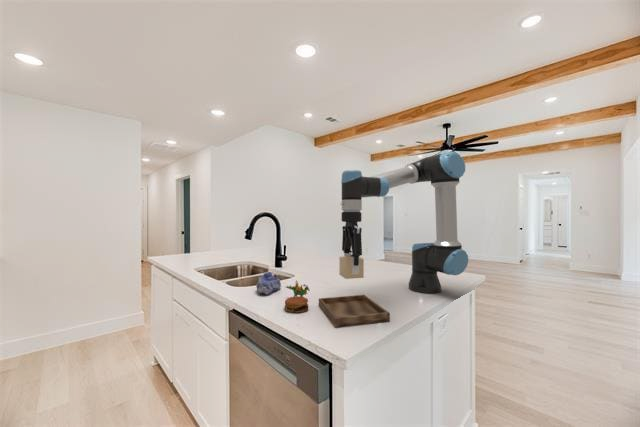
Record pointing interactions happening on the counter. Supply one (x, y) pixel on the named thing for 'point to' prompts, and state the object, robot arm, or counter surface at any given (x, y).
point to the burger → (296, 304)
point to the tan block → (346, 268)
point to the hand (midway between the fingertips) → (351, 271)
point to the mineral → (268, 283)
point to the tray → (353, 311)
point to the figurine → (299, 289)
